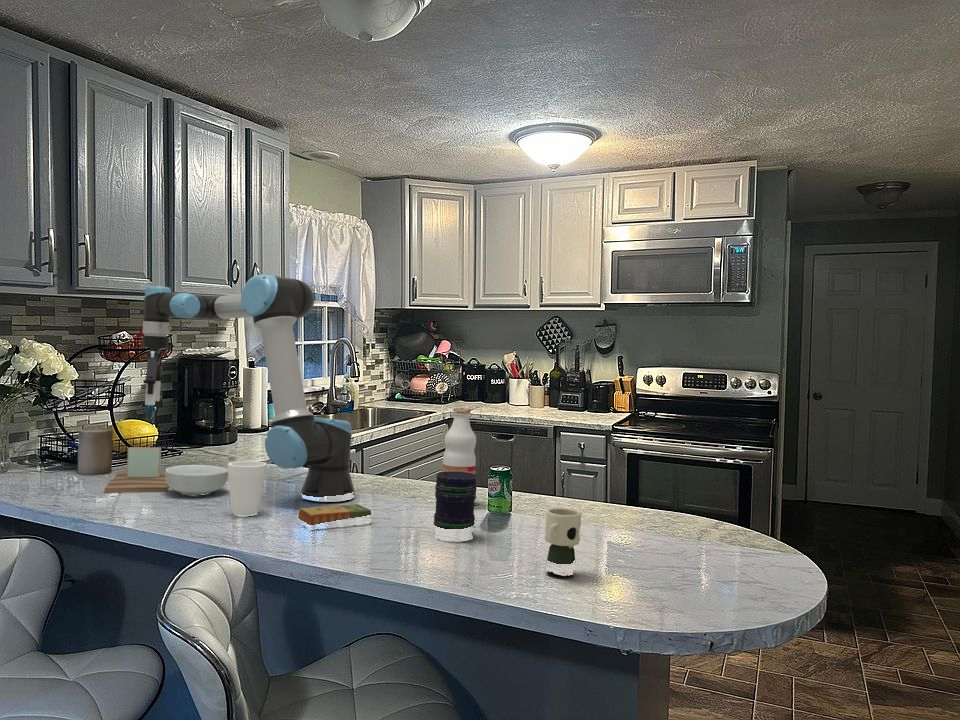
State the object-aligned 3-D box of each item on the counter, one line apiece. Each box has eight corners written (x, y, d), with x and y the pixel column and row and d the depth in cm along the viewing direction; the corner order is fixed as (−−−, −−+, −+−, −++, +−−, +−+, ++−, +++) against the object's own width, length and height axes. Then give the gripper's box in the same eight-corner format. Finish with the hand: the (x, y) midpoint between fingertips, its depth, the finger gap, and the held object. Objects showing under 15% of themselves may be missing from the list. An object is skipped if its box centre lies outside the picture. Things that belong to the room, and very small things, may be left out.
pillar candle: (114, 469, 233) (116, 423, 233) (107, 475, 224) (109, 427, 223) (81, 470, 231) (83, 423, 230) (73, 475, 221) (74, 426, 221)
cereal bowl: (199, 502, 194) (200, 476, 193) (150, 495, 199) (151, 470, 199) (239, 491, 210) (240, 467, 210) (193, 485, 215) (194, 462, 215)
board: (166, 491, 205) (167, 487, 204) (104, 492, 199) (104, 488, 199) (173, 476, 227) (174, 472, 227) (118, 476, 222) (118, 472, 222)
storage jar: (481, 536, 173) (484, 475, 173) (460, 545, 165) (463, 480, 164) (447, 529, 178) (450, 469, 178) (424, 537, 170) (427, 474, 169)
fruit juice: (436, 502, 208) (441, 407, 208) (467, 502, 211) (472, 407, 211) (446, 510, 199) (451, 410, 199) (478, 509, 203) (483, 410, 202)
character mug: (564, 585, 140) (568, 519, 140) (532, 577, 144) (536, 513, 144) (587, 572, 149) (590, 510, 149) (556, 565, 153) (559, 504, 153)
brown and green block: (297, 524, 177) (298, 507, 177) (357, 518, 186) (358, 502, 186) (310, 532, 170) (311, 514, 170) (371, 526, 179) (372, 509, 179)
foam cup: (224, 519, 177) (226, 466, 177) (226, 510, 186) (229, 460, 186) (263, 518, 180) (266, 467, 180) (264, 510, 189) (267, 461, 188)
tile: (159, 477, 218) (160, 448, 217) (126, 478, 215) (127, 448, 215) (159, 476, 219) (161, 447, 219) (127, 477, 216) (128, 447, 216)
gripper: (164, 336, 214) (161, 407, 214) (172, 336, 238) (169, 399, 238) (137, 334, 212) (133, 406, 212) (147, 334, 235) (144, 399, 236)
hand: (152, 403), depth 225 cm, fingers open, 13 cm apart
